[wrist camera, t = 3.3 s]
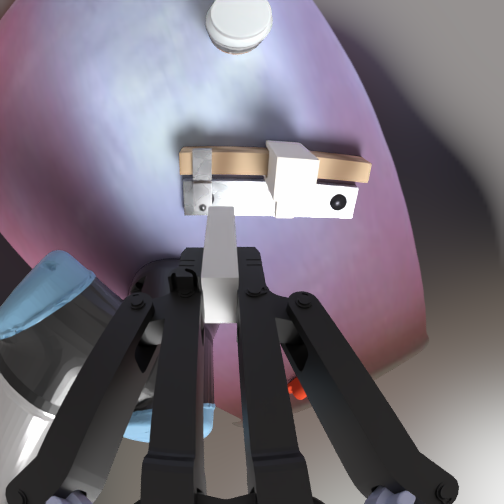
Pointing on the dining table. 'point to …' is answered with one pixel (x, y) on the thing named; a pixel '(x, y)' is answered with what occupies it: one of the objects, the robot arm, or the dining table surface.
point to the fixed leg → (202, 178)
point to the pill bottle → (238, 24)
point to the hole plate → (261, 204)
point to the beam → (258, 159)
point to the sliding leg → (290, 176)
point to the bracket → (296, 389)
